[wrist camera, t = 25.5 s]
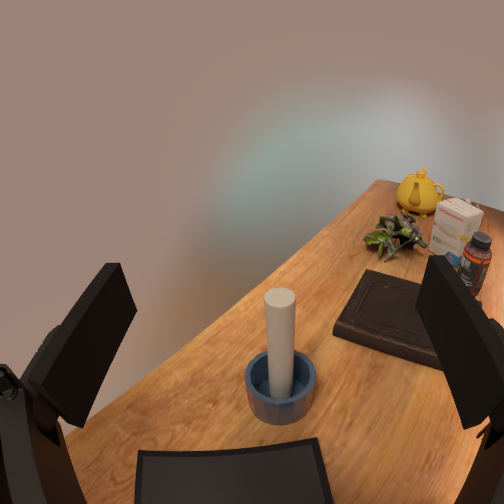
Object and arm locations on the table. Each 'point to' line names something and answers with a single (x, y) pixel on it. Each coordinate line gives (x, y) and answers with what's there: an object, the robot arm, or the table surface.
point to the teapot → (419, 193)
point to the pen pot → (280, 408)
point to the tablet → (234, 476)
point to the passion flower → (395, 233)
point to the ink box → (454, 228)
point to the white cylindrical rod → (280, 340)
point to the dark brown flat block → (387, 319)
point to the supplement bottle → (475, 262)
